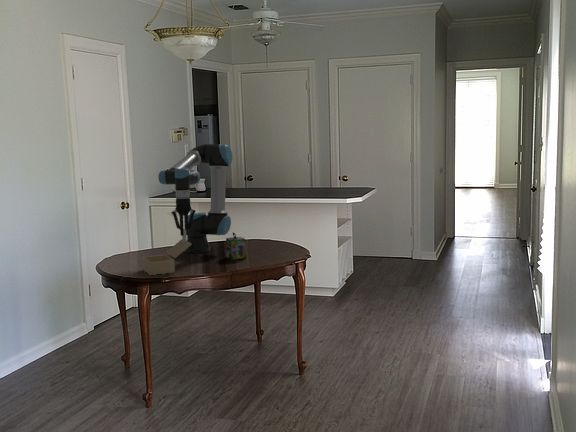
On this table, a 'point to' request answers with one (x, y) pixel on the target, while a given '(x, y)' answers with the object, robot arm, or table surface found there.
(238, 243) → the colorful juice box
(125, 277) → the table surface
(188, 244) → the lid
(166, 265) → the box
